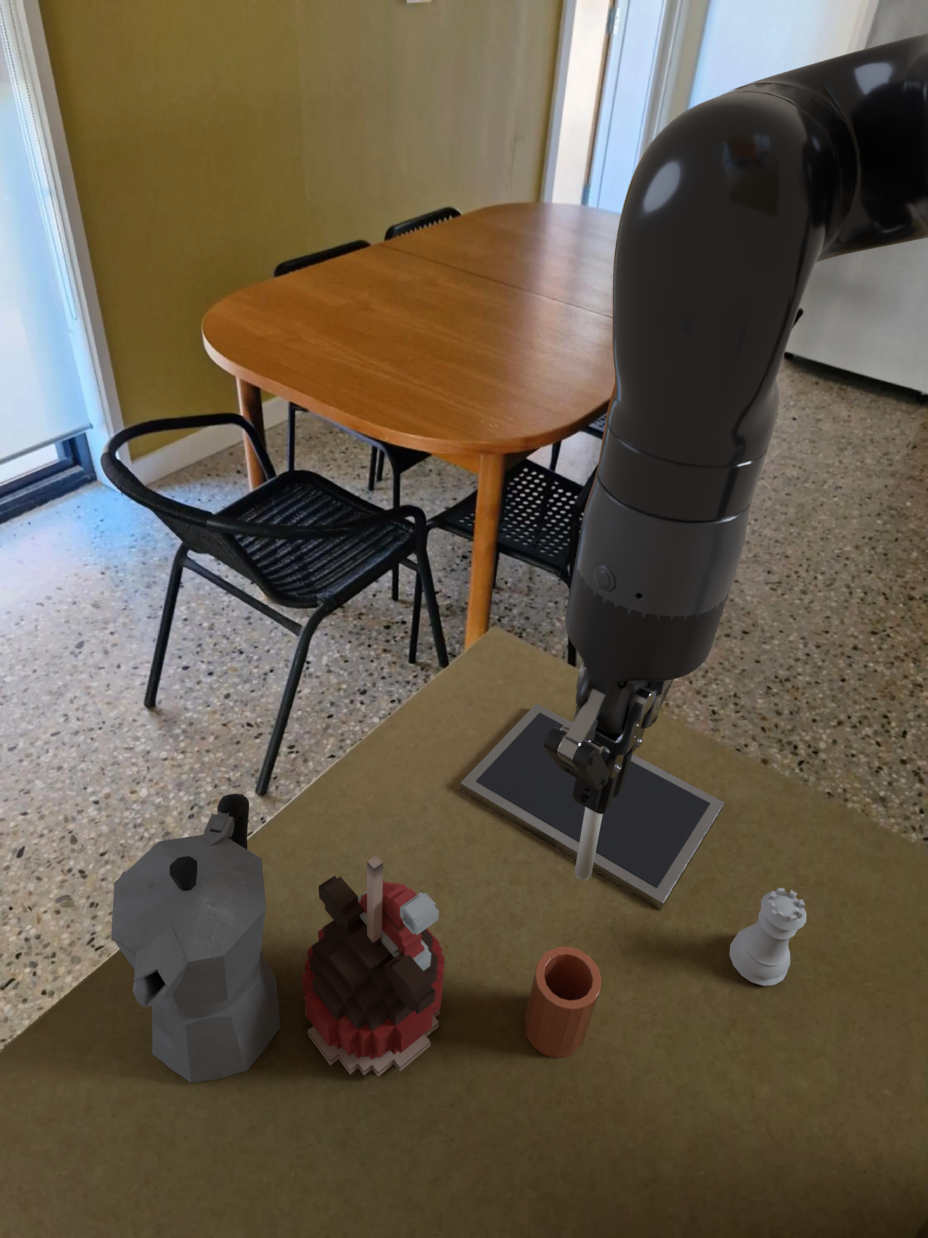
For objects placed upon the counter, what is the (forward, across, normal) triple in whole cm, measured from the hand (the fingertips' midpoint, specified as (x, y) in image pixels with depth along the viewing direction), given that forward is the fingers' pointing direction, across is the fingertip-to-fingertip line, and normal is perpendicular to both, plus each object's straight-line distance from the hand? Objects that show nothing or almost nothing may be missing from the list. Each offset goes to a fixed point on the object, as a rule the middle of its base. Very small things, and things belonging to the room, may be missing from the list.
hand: (597, 794), depth 54 cm
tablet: (+21, +16, +6) cm, 27 cm away
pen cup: (+21, -3, -2) cm, 21 cm away
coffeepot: (+21, -17, +18) cm, 32 cm away
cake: (+21, -10, +9) cm, 25 cm away
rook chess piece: (+21, +11, -12) cm, 26 cm away
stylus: (+8, 0, 0) cm, 8 cm away
